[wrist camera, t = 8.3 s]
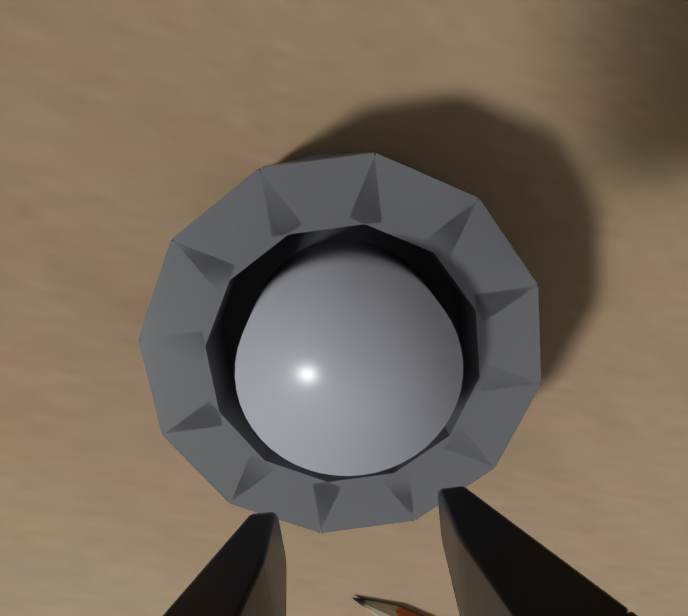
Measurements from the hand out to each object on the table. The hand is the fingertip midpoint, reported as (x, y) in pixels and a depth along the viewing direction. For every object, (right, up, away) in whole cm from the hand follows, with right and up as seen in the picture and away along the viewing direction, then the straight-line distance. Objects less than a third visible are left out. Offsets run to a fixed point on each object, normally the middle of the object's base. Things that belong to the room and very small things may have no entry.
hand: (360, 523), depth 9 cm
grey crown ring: (0, +3, +10) cm, 10 cm away
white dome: (0, +3, +9) cm, 9 cm away
